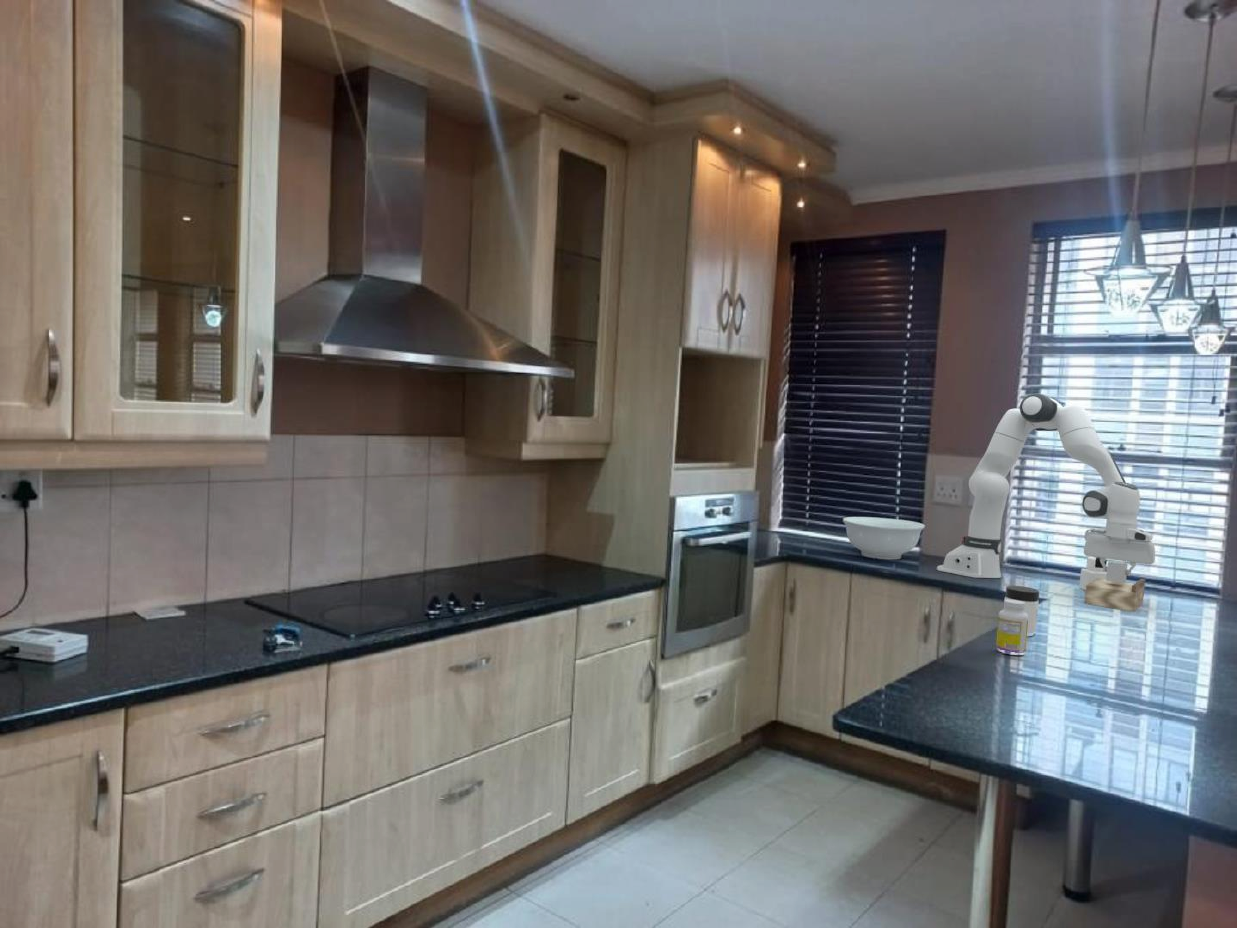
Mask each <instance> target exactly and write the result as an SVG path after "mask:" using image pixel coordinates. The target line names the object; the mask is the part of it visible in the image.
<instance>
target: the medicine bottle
mask: <svg viewBox="0 0 1237 928" xmlns="http://www.w3.org/2000/svg"><path fill="white" fill-rule="evenodd" d="M1086 558H1087V559H1086V568H1081V569H1080V576H1079V577H1080V578H1079V589H1081V590H1083V591H1084V592H1085V591H1086V585H1087V584H1089V583H1090V582H1092V581H1093V580H1095V579H1096V578H1101V579H1106V576H1107V572H1103V566H1102V564H1101V562H1100V558H1099V557H1091V556H1087V557H1086ZM1104 563H1105V565H1106V566H1107V565H1108V559H1106V561H1104Z"/></svg>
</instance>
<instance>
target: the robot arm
mask: <svg viewBox="0 0 1237 928" xmlns="http://www.w3.org/2000/svg"><path fill="white" fill-rule="evenodd" d="M1033 430H1036V431H1037V432H1043V431H1044V432H1054V431H1055V432H1056V431H1057V432H1058V434H1059V438H1060V441H1061V444H1062V447H1063V450H1064V451H1065V453H1066V454H1067V455H1068V456H1069V458H1071V459H1073V460H1076V461H1078V462H1081V463H1083V464H1085V465H1088V466H1090V467H1091V468H1093V469H1094V470H1096V471H1097V473H1098V474H1099V475H1100V477H1101V479H1102V481H1103V484H1104V486H1105V487H1103V488H1098V489H1093V490H1089V491H1087V492H1086V493H1085V495H1084V496H1083V499H1082V503H1081V505H1082V510H1083V512H1084V513H1085V514H1086V515H1087V516H1088V517H1091V518H1093V519H1104V520H1105V519H1106V522H1105V529H1096V528H1090V529H1087V530H1086V531H1085V532H1084V540H1085V543H1084V547H1083V554H1084V556H1086V557H1099V558H1100V562H1101V564H1102V566H1103V572H1107V566H1108V565H1107V564H1106V565H1105V563H1104V561H1106V560H1112V561H1114V560H1115V561H1119V562H1126V563H1127V562H1129V563H1130V564H1129V565H1130V567H1129V569H1128V568H1127V569H1126V570H1125V572H1126V573H1125V575H1126V576H1129V577H1131V576H1132V571H1133V569H1135V568H1136V566H1137V564H1142V565H1149V566H1150V565H1154V563H1155V561H1156V550H1155V549H1156V548H1155V544H1154V542H1153V541H1152V540H1153V534H1152V533H1150V532H1147V531H1144V530H1143V529H1140V528H1138V519H1137V518H1138V515H1139V513H1140V503H1141V500H1140V499H1141V496H1140V490H1139V487H1137V486H1136V485H1134V484H1133V483H1129V482H1126V480H1125V478H1124V476H1123V474H1122V472H1121V470H1120V468H1119V466H1118V464H1117V462H1116V460H1115V458H1114V457H1113V455H1112V454H1111V453H1110V451H1109V450H1108V449H1107V447H1105V446H1104V444H1103V443H1102V441H1101V439H1100V438H1099V436H1098V434H1097V432H1096V428H1095V426H1094V423H1093V421H1092V419H1091V417H1090V416H1089V414H1088V412H1087V410H1086V409H1085V408H1084V407H1083V406H1082V405H1079V404H1069V405H1066V406H1064V405H1063V404H1062V403H1060V402H1059V401H1058V400H1056V399H1055V398H1052V397H1049V396H1048V395H1046V394H1043V393H1035V392H1034V393H1029V394H1028V395H1026V396H1025V397H1024V398H1022V399H1021V401H1020V404H1019V408H1011V409H1008V410H1006V412H1004V414H1003V416H1002V418H1001V420H1000V421H999V423H997V427H996V428H995V430H994V433H993V435H992V437H991V440H990V442H989V444H988V446H987V448H986V451H985V452H984V455H983V456H982V458H981V459H980V461H979V463H978V464H977V466H976V468H975V470H974V471H973V472H972V475H971V476H970V478H969V479H968V488H969V492H970V493H971V494H972V495H973V496H974V500H973V504H972V508H971V512H970V514H969V521H968V533H967V535H965V536H963V537H962V538H961V545H959V546H958V547H956V548H953V549H952V550H951V551H949V552H948V553H946V555H945V557H944V561H943V564H941V565H938V566H937V567H936V570H937V571H939V572H945V573H949V574H954V575H958V576H965V577H970V578H974V579H975V578H978V579H979V578H981V579H983V578H985V579H1000V578H1002V574H1001V569H1000V565H1001V564H1000V554H1001V551H1002V550H1001V549H1002V539H1001V531H1002V530H1001V529H1002V520H1003V514H1004V511H1005V507H1006V504H1007V499H1008V495H1009V493H1010V487H1011V486H1010V483H1009V481H1008V479H1007V478H1006V477H1007V476H1008V474H1009V473H1010V472H1011V470H1012V468H1013V467H1014V466H1015V465H1016V464H1017V462H1018V459H1019V458H1020V455H1021V452H1022V450H1023V448H1024V446H1025V443H1026V441H1027V439H1028V437H1029V435H1030V433H1031V432H1032V431H1033Z"/></svg>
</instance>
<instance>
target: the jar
mask: <svg viewBox="0 0 1237 928" xmlns="http://www.w3.org/2000/svg"><path fill="white" fill-rule="evenodd" d="M1039 598H1040V591H1039V590H1038V589H1036V588H1032V587H1026V586H1019V585H1007V586H1006V588H1005V597H1004V598H1003V599H1004V600H1007V599H1009V600H1018V601H1022V602H1025V608H1024V612H1025V613H1026V614H1027V615H1028V629H1027V633H1034V632H1035V631H1036V632H1037V624H1038V615H1039V613H1038V612H1039V603H1040V602H1039V600H1040V599H1039ZM1004 608H1005V606H1004V605H1003V609H1004Z"/></svg>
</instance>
